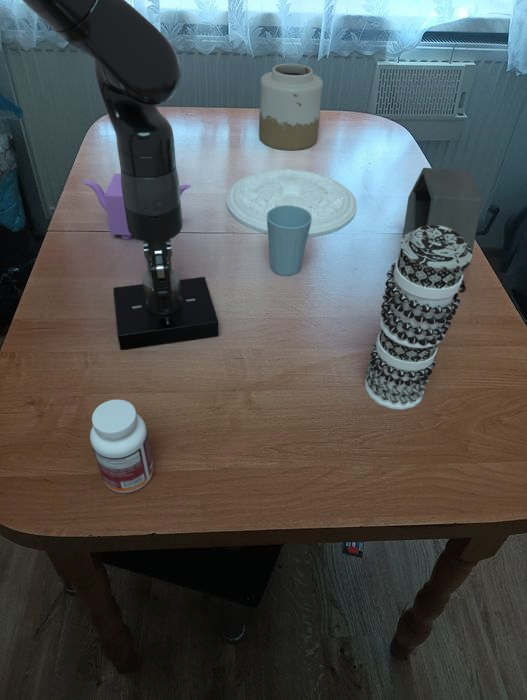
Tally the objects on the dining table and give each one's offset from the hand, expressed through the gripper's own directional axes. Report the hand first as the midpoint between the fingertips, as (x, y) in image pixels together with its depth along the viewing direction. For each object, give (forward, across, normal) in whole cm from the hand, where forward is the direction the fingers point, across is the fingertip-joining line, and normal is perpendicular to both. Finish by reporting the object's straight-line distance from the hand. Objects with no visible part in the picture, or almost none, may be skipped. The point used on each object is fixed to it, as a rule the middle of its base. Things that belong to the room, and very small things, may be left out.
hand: (163, 297), depth 84 cm
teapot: (+5, -28, -2) cm, 28 cm away
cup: (+5, -11, +22) cm, 25 cm away
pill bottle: (+5, +28, -6) cm, 29 cm away
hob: (+4, 0, 0) cm, 4 cm away
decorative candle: (+5, +20, +31) cm, 37 cm away
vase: (+5, -68, +36) cm, 77 cm away
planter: (+5, -7, +48) cm, 49 cm away
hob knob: (+1, 0, 0) cm, 1 cm away
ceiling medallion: (+5, -35, +29) cm, 46 cm away
